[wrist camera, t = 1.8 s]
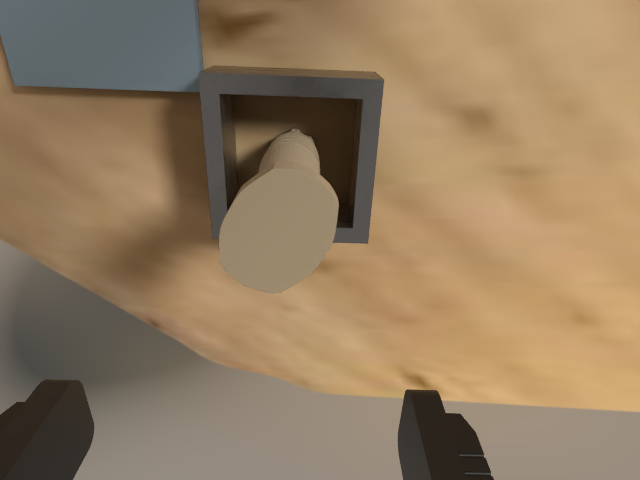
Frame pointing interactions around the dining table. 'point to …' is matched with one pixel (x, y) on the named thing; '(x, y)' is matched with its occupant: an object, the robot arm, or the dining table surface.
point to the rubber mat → (103, 44)
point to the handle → (280, 218)
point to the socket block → (357, 85)
